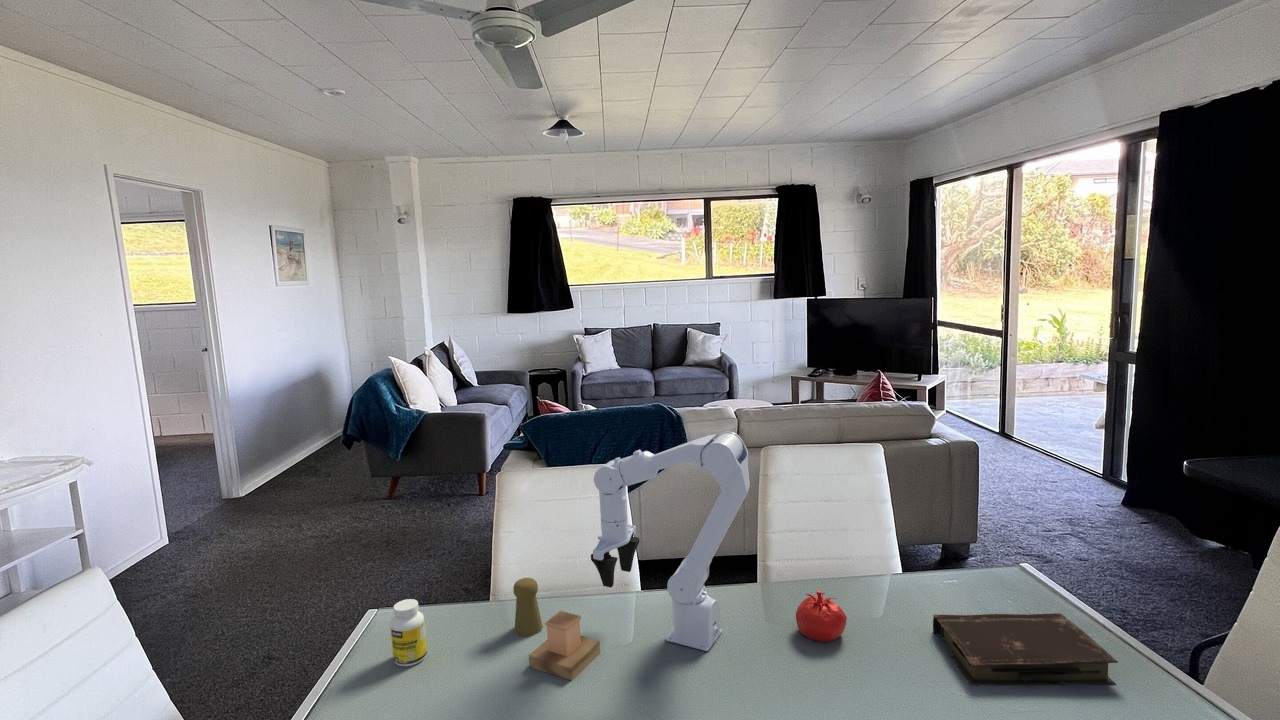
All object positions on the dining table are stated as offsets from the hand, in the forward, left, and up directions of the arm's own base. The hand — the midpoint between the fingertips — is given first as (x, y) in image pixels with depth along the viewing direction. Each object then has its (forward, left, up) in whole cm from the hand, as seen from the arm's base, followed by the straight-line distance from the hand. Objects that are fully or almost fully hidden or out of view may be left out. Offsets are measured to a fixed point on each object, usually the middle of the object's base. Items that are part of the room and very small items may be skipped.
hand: (617, 578), depth 141 cm
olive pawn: (+17, +10, -11) cm, 22 cm away
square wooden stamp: (+3, +16, -8) cm, 18 cm away
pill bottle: (+32, +29, -11) cm, 44 cm away
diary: (-75, -21, -11) cm, 79 cm away
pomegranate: (-40, -14, -11) cm, 44 cm away
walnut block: (+3, +16, -10) cm, 19 cm away
